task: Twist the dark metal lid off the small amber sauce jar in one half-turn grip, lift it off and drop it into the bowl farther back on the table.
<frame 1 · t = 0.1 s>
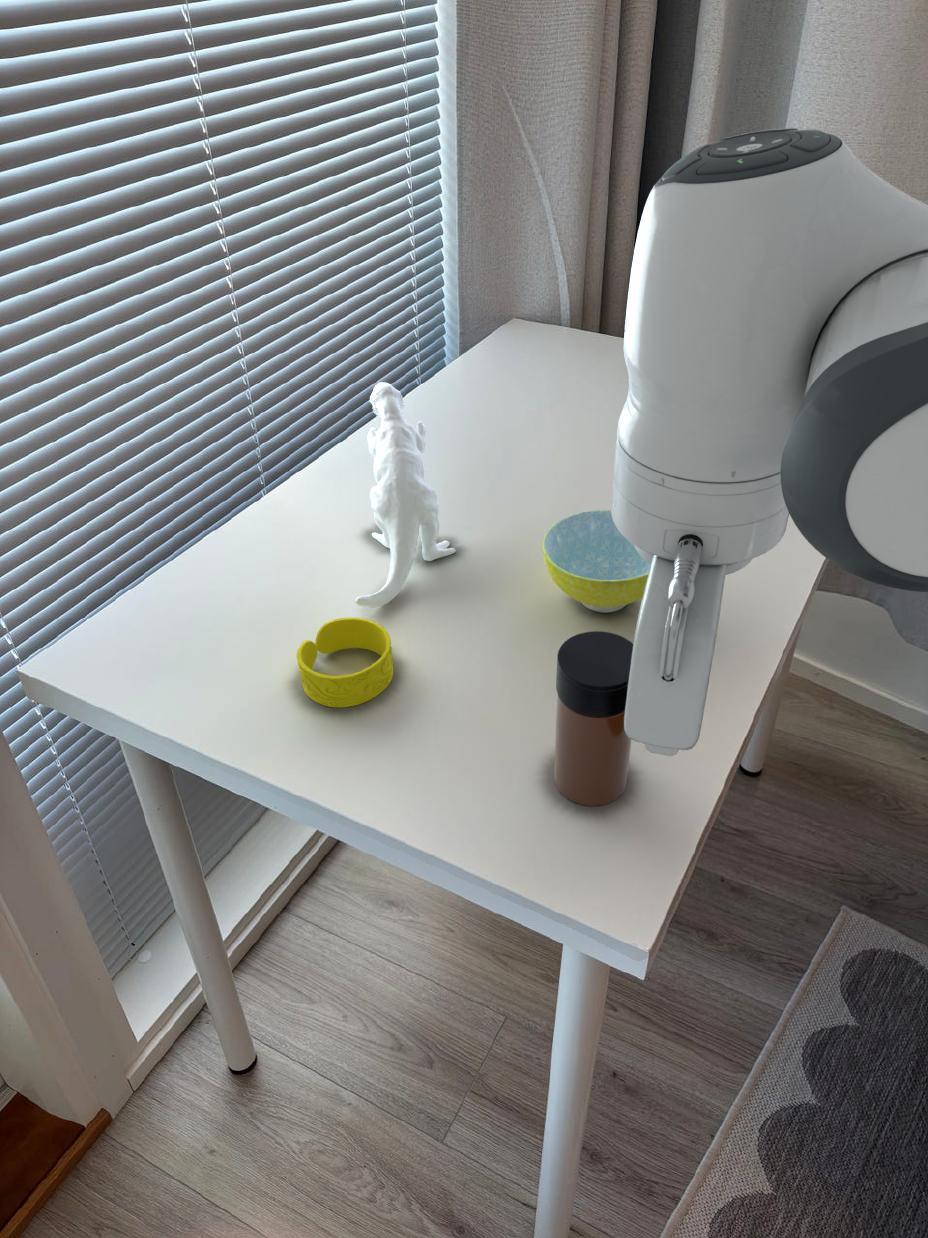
hand: (672, 689, 57), 15 cm above the table, tool pointing down, fingers open, 8 cm apart
dinosaur figurine: (403, 562, 94), on the table
jar: (590, 778, 71), on the table
bracelet: (348, 677, 81), on the table
lid: (599, 662, 64), point 12 cm above the table, screwed on, not yet turned
bowl: (602, 599, 88), on the table
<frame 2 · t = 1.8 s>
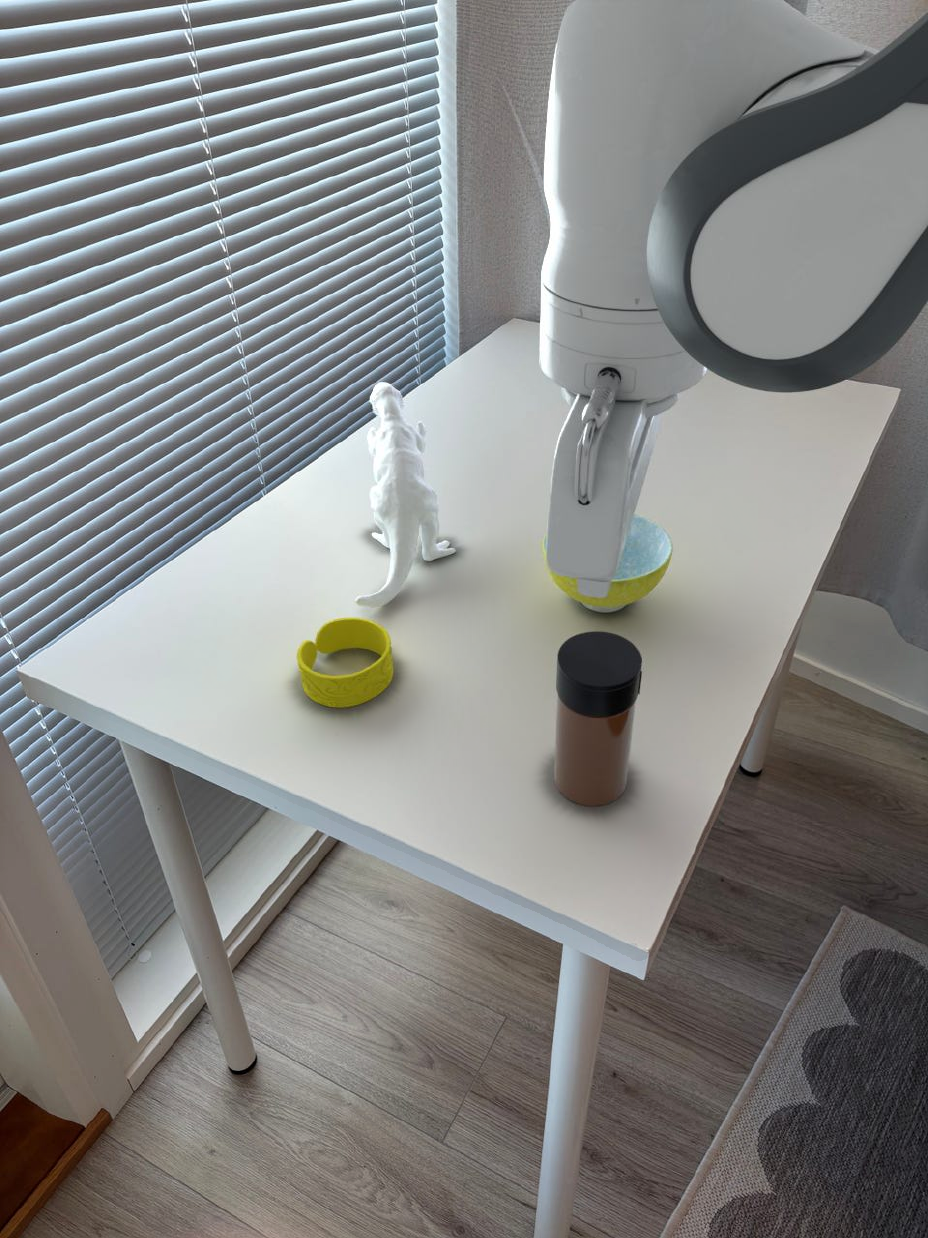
hand: (606, 551, 58), 21 cm above the table, tool pointing down, fingers open, 7 cm apart
nothing on the table moved.
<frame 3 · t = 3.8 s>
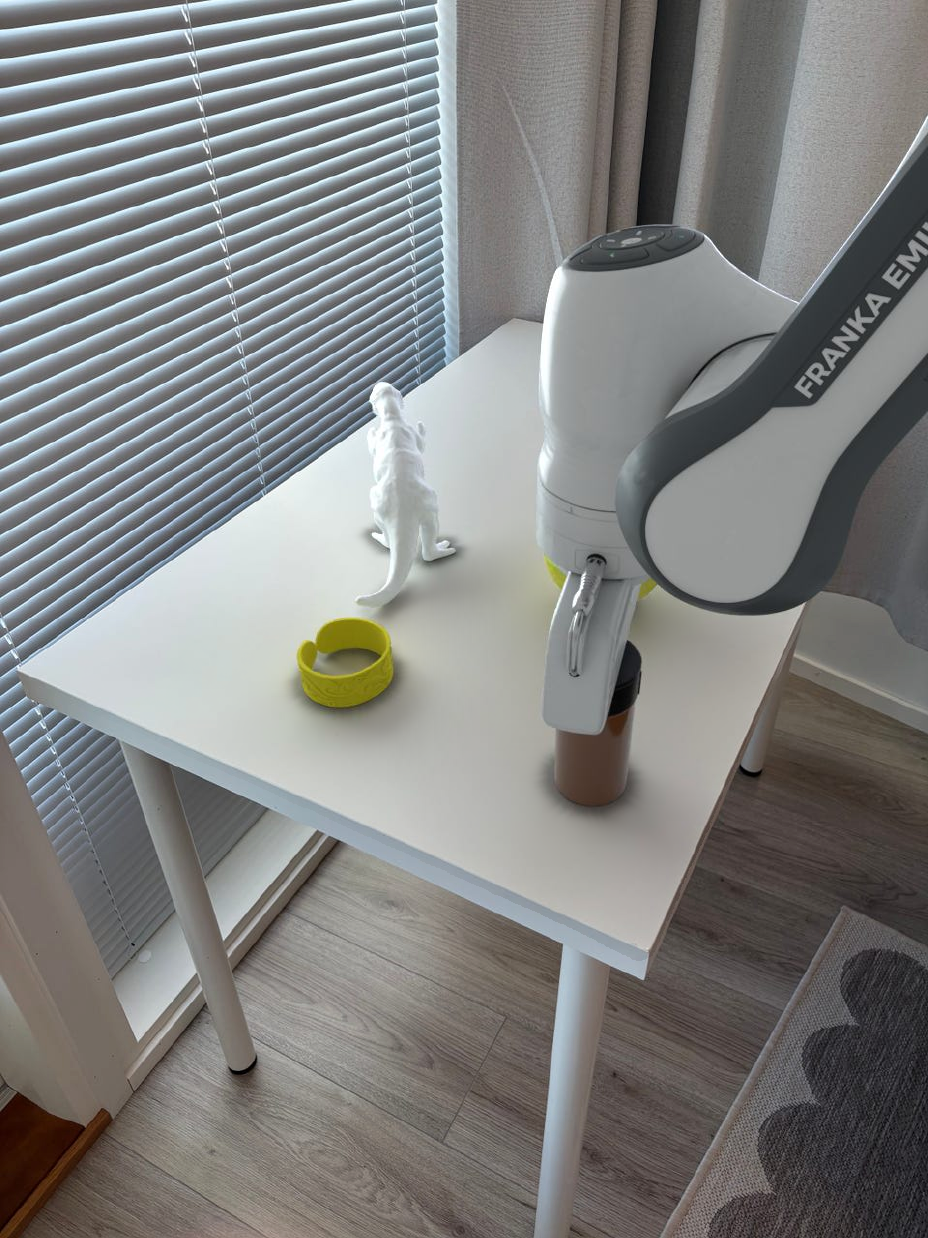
hand: (597, 684, 65), 9 cm above the table, tool pointing down, fingers closed on lid, 5 cm apart
lid: (598, 662, 64), point 12 cm above the table, screwed on, not yet turned, touching gripper
everything else where it was.
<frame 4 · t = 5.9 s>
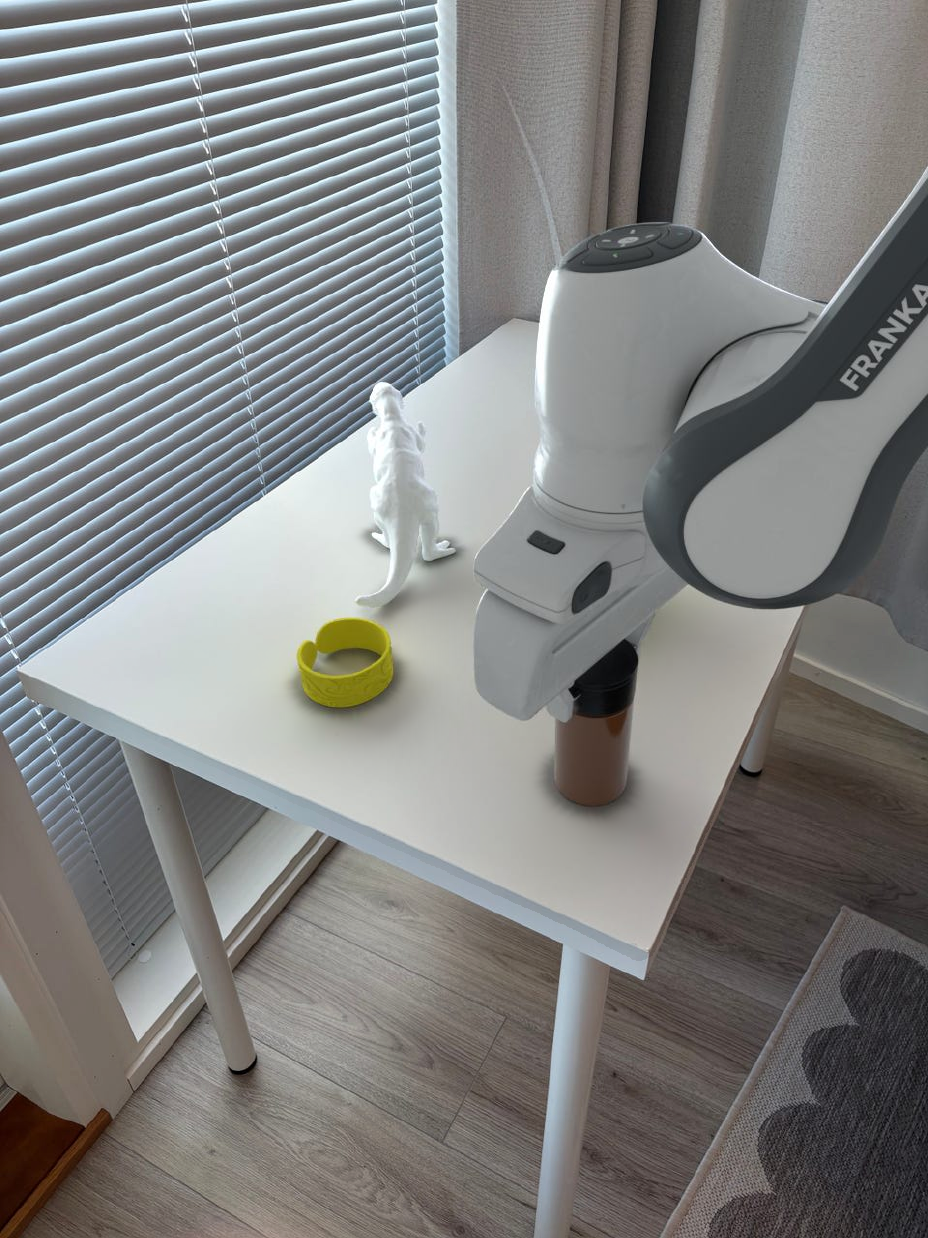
hand: (593, 686, 65), 10 cm above the table, tool pointing down, fingers closed on lid, 5 cm apart
lid: (595, 661, 63), point 12 cm above the table, off its thread, touching gripper
everything else where it was.
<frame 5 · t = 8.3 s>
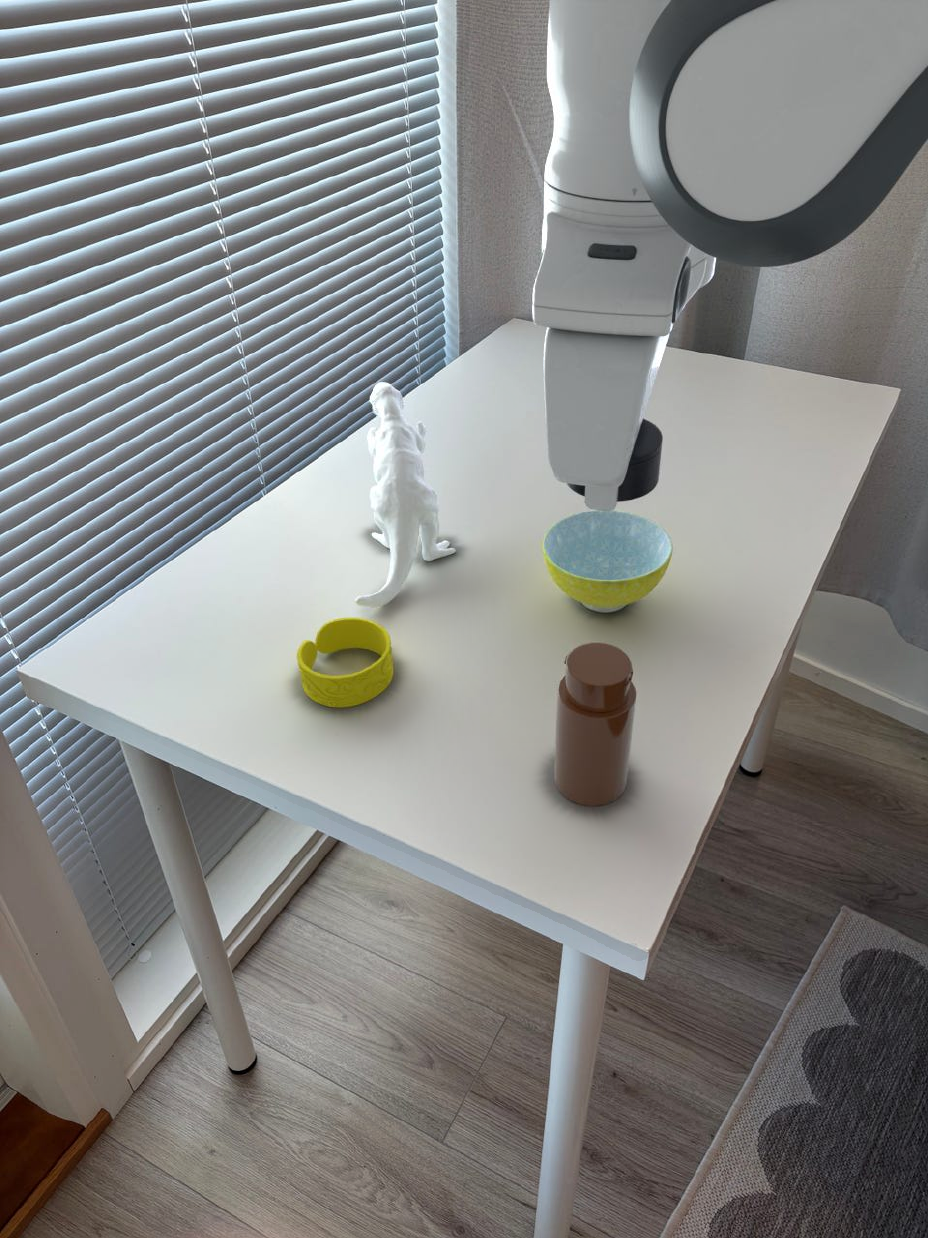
hand: (611, 474, 57), 25 cm above the table, tool pointing down, fingers closed on lid, 5 cm apart
lid: (613, 441, 56), point 27 cm above the table, off its thread, touching gripper
everything else where it was.
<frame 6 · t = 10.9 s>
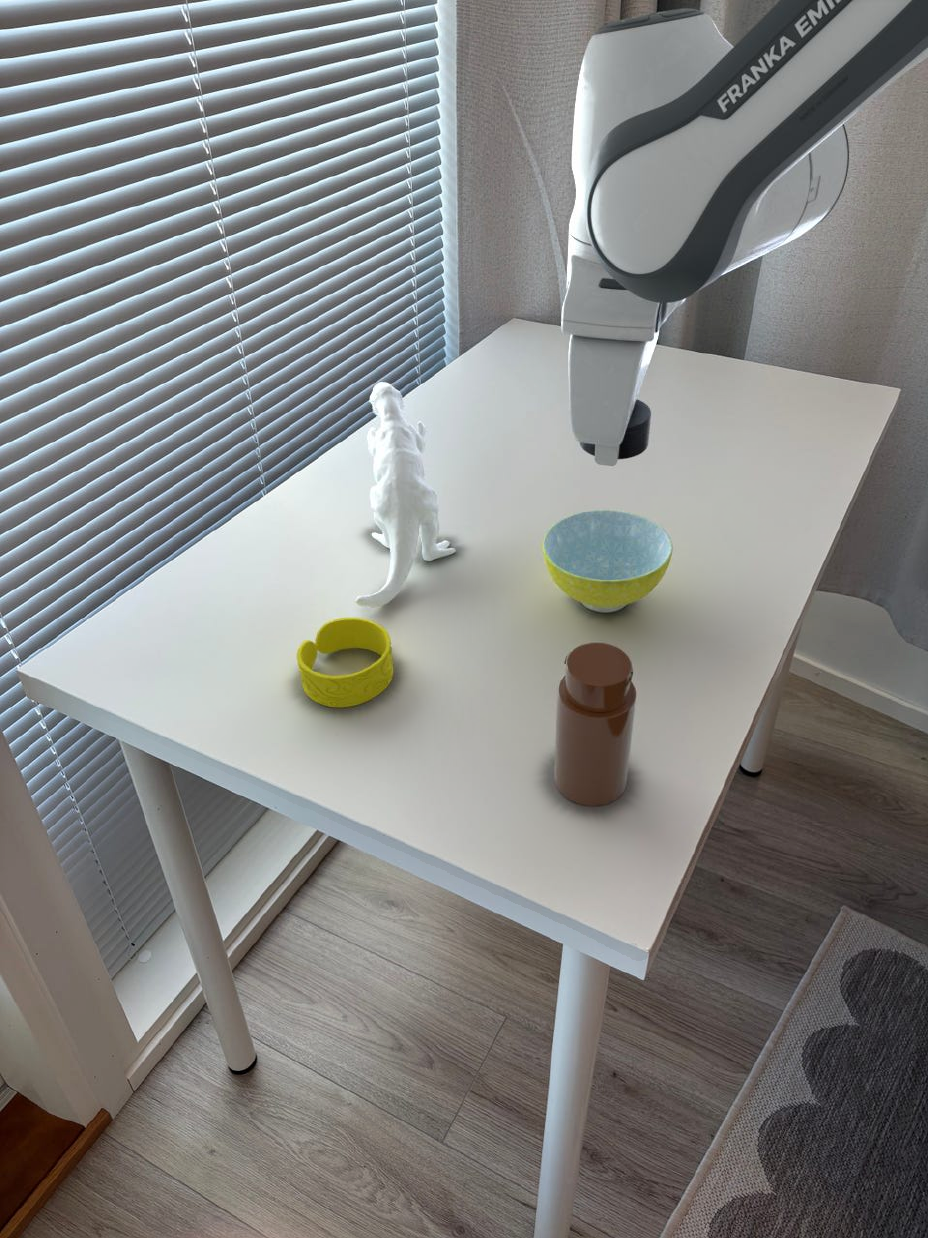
hand: (614, 441, 78), 16 cm above the table, tool pointing down, fingers closed on lid, 5 cm apart
lid: (615, 415, 77), point 18 cm above the table, off its thread, touching gripper
everything else where it was.
when the fingers open (8 cm above the table, at t = 13.2 s): lid drops 2 cm, resting on bowl.
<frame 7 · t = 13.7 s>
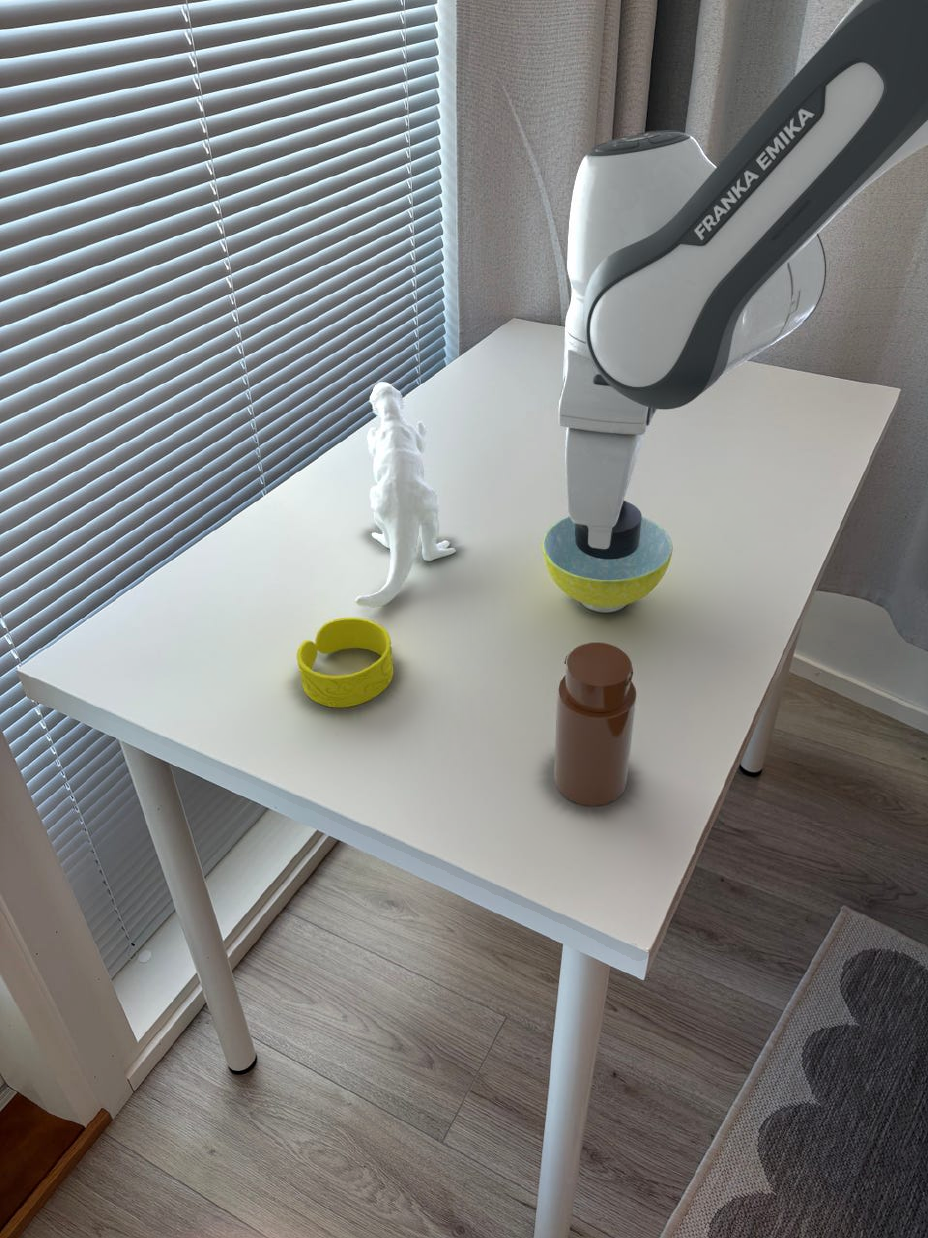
hand: (609, 513, 82), 9 cm above the table, tool pointing down, fingers open, 8 cm apart
lid: (608, 518, 83), point 9 cm above the table, off its thread, touching bowl
bowl: (602, 599, 88), on the table, touching lid
everything else where it was.
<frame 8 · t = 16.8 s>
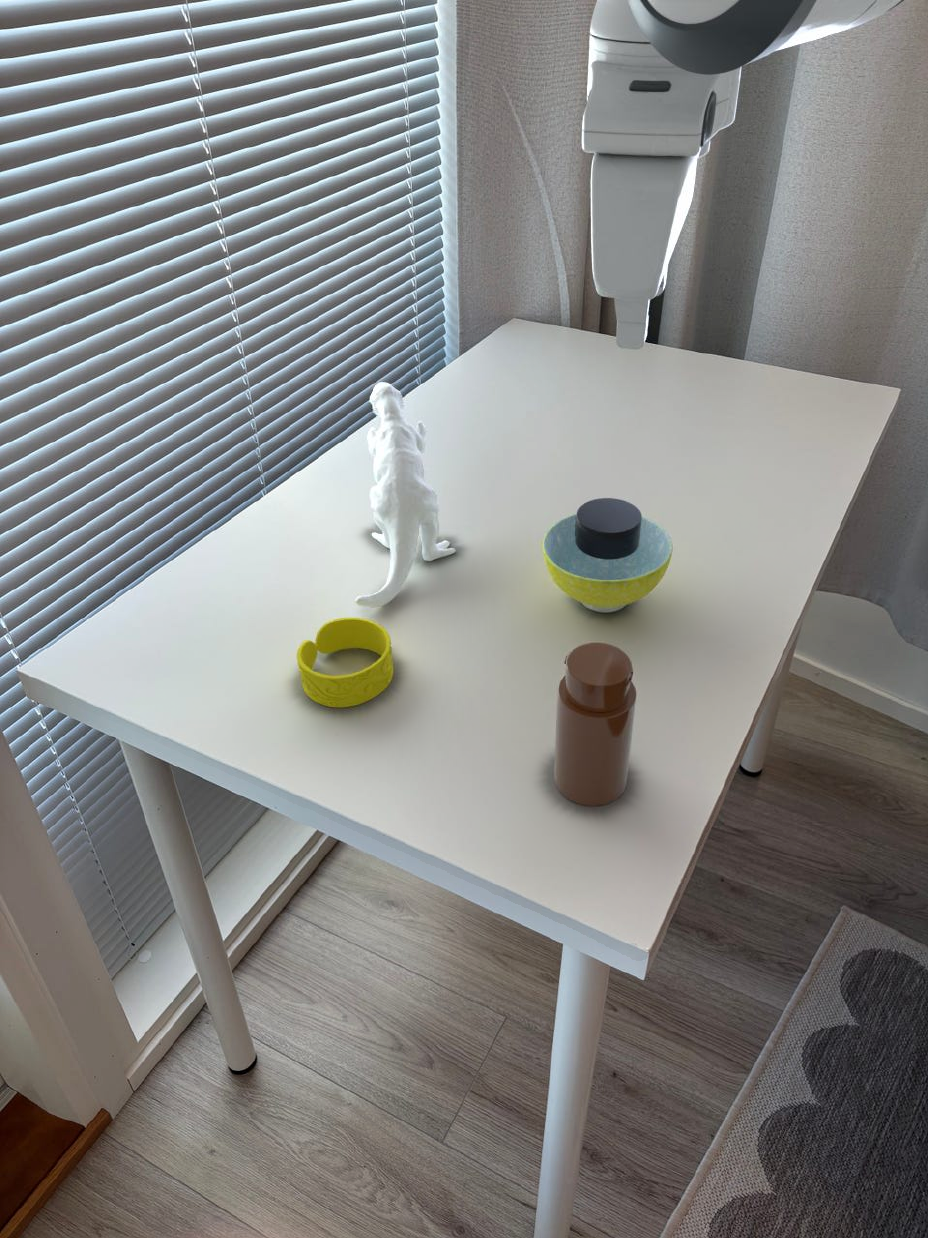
hand: (641, 317, 65), 29 cm above the table, tool pointing down, fingers open, 8 cm apart
nothing on the table moved.
at the end: lid came off its thread; lid 0.2 cm from the bowl (horizontally); the gripper is holding nothing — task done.
